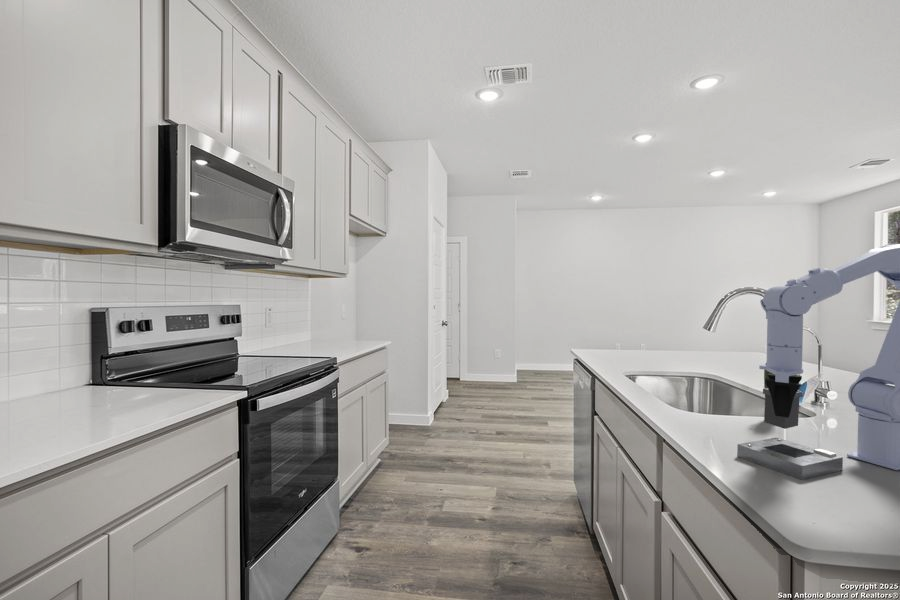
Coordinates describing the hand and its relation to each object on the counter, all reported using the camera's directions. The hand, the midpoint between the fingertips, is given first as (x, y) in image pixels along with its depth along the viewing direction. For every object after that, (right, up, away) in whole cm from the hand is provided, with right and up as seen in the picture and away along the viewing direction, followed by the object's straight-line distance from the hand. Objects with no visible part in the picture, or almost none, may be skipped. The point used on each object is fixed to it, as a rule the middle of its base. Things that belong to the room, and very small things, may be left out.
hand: (782, 412), depth 89 cm
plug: (0, -2, +1) cm, 2 cm away
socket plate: (0, -9, -2) cm, 10 cm away
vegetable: (+19, -9, +28) cm, 35 cm away
